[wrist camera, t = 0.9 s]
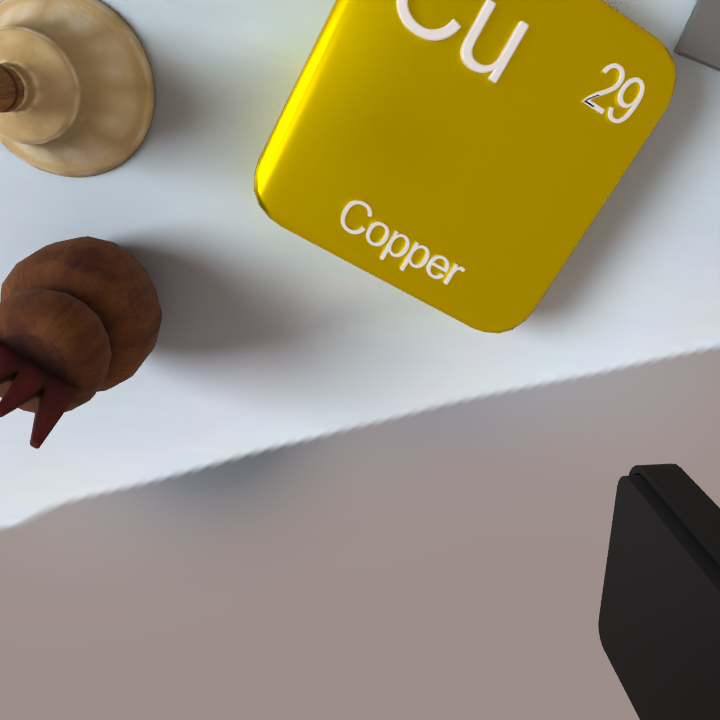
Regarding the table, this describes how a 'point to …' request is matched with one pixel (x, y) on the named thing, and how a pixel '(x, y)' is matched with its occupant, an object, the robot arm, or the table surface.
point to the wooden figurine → (72, 327)
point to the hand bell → (71, 86)
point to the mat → (702, 34)
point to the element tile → (463, 142)
